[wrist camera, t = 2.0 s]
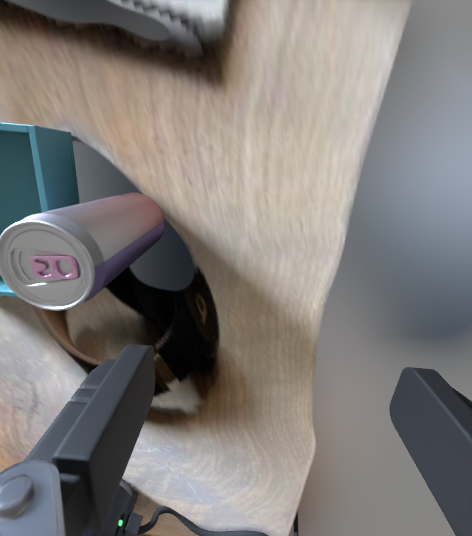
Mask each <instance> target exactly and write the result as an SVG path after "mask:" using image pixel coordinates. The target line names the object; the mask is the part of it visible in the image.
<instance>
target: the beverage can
mask: <svg viewBox="0 0 472 536" xmlns="http://www.w3.org/2000/svg"><path fill="white" fill-rule="evenodd" d="M164 225H165V223H164V216H163V213H162V211H161V209H160V207H159V206H158V205H157V203H156V202H155V201H154V200H152V199H151V198H150V197H148V196H146V195H144V194H141V193H136V192H130V193H124V194H120V195H116V196H111V197H107V198H103V199H99V200H94V201H90V202H85V203H81V204H77V205H72V206H68V207H64V208H60V209H55V210H51V211H47V212H42V213H38V214H34V215H30V216H28V217H26V218H24V219H22V220H21V221H20V222H17V223H15V224H13V225H11V226H10V227H8V228H7V229H6V230H5V231H4V232H3V233H2V234H1V236H0V275H1V277H2V278H3V280H4V282H5V283H6V284H7V286H8V287H9V288H10V289H11V290H12V291H13V292H14V293H15V294H16V295H17V296H18V297H20V298H21V299H23V300H24V301H26V302H27V303H29V304H31V305H33V306H36V307H38V308H42V309H46V310H54V311H60V310H67V309H70V308H73V307H75V306H77V305H79V304H80V303H83V302H86V301H88V300H89V299H91V298H92V297H94V296H95V295H96V294H97V293H98V292H99V291H101V290H102V289H103V288H104V287H105V286H106V285H108V284H109V283H110V282H111V281H112V280H113V279H114V278H116V277H117V276H118V275H119V274H120V273H121V272H123V271H124V270H125V269H126V268H127V267H128V266H130V265H131V264H132V263H133V262H134V261H135V260H136V259H138V258H139V257H140V256H141V255H142V254H143V253H145V252H146V251H147V250H148V249H149V248H150V247H152V246H153V245H154V244H155V243H156V242H157V241H158V240H159V239H160V238H161V236H162V234H163V231H164Z"/></svg>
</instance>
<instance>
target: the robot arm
mask: <svg viewBox="0 0 472 536" xmlns="http://www.w3.org/2000/svg"><path fill="white" fill-rule="evenodd" d="M154 390H155V369H154V349H153V347H152V346H147V345H135V344H128V345H126V347H125V348H124V349H123V351H122V352H121V354H120V355H119V357H118V358H117V360H109V359H107V360H106V361H104V362H103V363H102V364H100V365H99V366H98V367H96V368H95V369H93V370H92V371H91V372H90V374H89V375H88V376H87V378H86V379H85V380H84V382H83V383H82V384H81V387H80V388H78V390H77V391H76V392H75V394H74V395H73V396H72V398H71V401H69V402H68V403H67V404H66V406H65V407H64V408H63V410H62V411H61V412H60V414H59V415H58V416H57V418H56V419H55V420H54V422H53V423H52V424H51V426H50V427H49V428H48V430H47V431H46V432H45V434H44V435H43V436H42V438H41V439H40V440H39V442H38V443H37V444H36V446H35V447H34V448H33V450H32V451H31V452H30V454H29V455H28V456H27V457H26V458H25V460H24V461H23V462H20V463H17V464H15V465H13V466H11V467H9V468H7V469H5V470H4V471H2V472H0V536H137V535H139V534H143V533H145V532H147V531H149V530H150V529H151V528H153V526H154V525H155V524H156V522H157V519H158V517H159V515H161V514H164V513H170V514H173V515H175V516H176V517H177V518H178V519H179V520H180V521H181V522H182V523H183V524H184V525H185V526H186V527H188V528H189V529H190V530H191V531H192V532H194V533H195V534H197V535H199V536H268V535H266V534H264V533H261V532H256V531H228V532H214V531H208V530H204V529H201V528H199V527H197V526H196V525H194V524H193V523H192V522H191V521H189V520H188V519H187V518H185V517H183V516H182V515H180V514H179V513H177V512H176V511H174V510H173V509H171V508H169V507H166V506H163V507H160V508H158V509H157V510H156V511H155V513H154V515H153V517H152V519H151V521H150V522H149V523H147V524H146V525H143V526H140V524H141V521H142V516H140V515H138V514H136V513H134V512H133V509H134V506H135V503H136V499H137V496H138V493H136V492H134V491H133V490H132V488H131V486H130V485H129V484H128V483H127V482H125V481H124V480H122V476H123V474H124V471H125V469H126V466H127V464H128V461H129V459H130V456H131V454H132V451H133V449H134V446H135V444H136V441H137V439H138V436H139V434H140V431H141V429H142V426H143V424H144V421H145V419H146V416H147V414H148V411H149V409H150V406H151V403H152V400H153V396H154ZM390 416H391V420H392V422H393V425H394V427H395V429H396V430H397V432H398V434H399V436H400V437H401V439H402V441H403V443H404V444H405V446H406V448H407V450H408V451H409V453H410V455H411V457H412V459H413V460H414V462H415V464H416V466H417V467H418V469H419V471H420V473H421V474H422V476H423V478H424V480H425V482H426V483H427V485H428V487H429V489H430V490H431V492H432V494H433V496H434V497H435V499H436V501H437V502H438V505H439V506H440V508H441V510H442V512H443V513H444V515H445V517H446V519H447V521H448V522H449V524H450V526H451V528H452V529H453V531H454V533H455V535H456V536H472V402H471V401H470V400H469V399H467V398H466V397H465V396H463V395H462V394H460V393H459V392H458V391H456V390H455V389H454V388H452V387H451V386H450V385H449V384H448V383H447V382H446V381H445V380H444V379H443V378H442V377H441V376H440V375H439V373H438V372H436V371H435V370H432V369H422V368H410V367H407V368H405V369H403V371H402V373H401V376H400V379H399V381H398V384H397V386H396V389H395V392H394V395H393V397H392V400H391V404H390ZM293 524H294V536H298V509H297V512H296V515H295V518H294V521H293Z"/></svg>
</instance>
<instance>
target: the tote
mask: <svg viewBox="0 0 472 536" xmlns="http://www.w3.org/2000/svg"><path fill="white" fill-rule="evenodd" d="M77 204H80V203H79V195H78V186H77V178H76V170H75V162H74V153H73V145H72V136H71V132H66V131H60V130H55V129H50V128H44V127H39V126H33V125H22V124H11V123H0V236H1V234H2V233H3V232H4V231H5V230H6V229H7V228H8V227H10V226H11V225H13V224H15V223H17V222H20V221H21V220H22V219H24V218H26V217H28V216H30V215H34V214H38V213H42V212H47V211H51V210H55V209H60V208H64V207H68V206H72V205H77ZM0 296H7V297H18V296H17V295H16V294H15V293H14V292H13V291H12V290H11V289H10V288H9V287H8V286H7V284H6V283H5V282H4V280H3V278H2V277H1V275H0ZM18 298H20V297H18Z"/></svg>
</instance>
